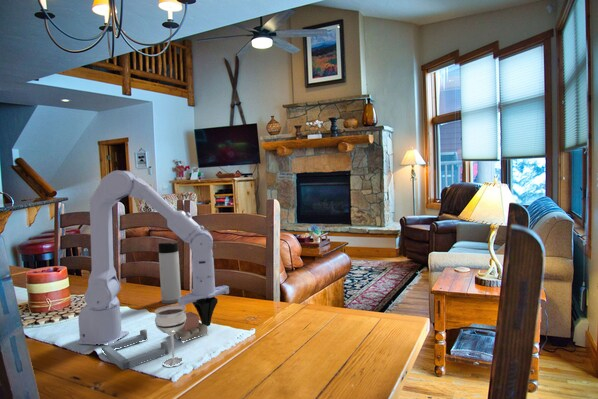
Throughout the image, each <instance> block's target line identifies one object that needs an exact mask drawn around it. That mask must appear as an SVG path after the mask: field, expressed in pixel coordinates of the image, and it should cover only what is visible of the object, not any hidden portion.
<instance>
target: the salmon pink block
mask: <svg viewBox="0 0 598 399" xmlns="http://www.w3.org/2000/svg"><path fill="white" fill-rule="evenodd" d="M185 313H186V316H187V320H186V323H185V325H184V326H183V328H182V329H183V330H185V331H186V330H189V329H192V328H196V327H199V322H200V316H199V314H197V313H195V312H192V311H189V312H185Z"/></svg>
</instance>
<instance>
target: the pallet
mask: <svg viewBox="0 0 598 399" xmlns="http://www.w3.org/2000/svg"><path fill="white" fill-rule="evenodd" d="M207 333H208V326H206V325H204V324H202V323H201V321H199V327H196V328H192V329H189V330H186V331H185V330H183V329H181V330H179V331H178V332H176V333H175V336H174V337H175V339H176V338H180V337H181V339H180V342H181V341H186V340H189V339H192V338H194V337H198V336H201V335H204V334H207ZM207 335H208V334H207ZM204 336H205V335H204ZM201 337H202V336H201ZM198 338H199V337H198ZM192 340H193V339H192Z"/></svg>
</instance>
